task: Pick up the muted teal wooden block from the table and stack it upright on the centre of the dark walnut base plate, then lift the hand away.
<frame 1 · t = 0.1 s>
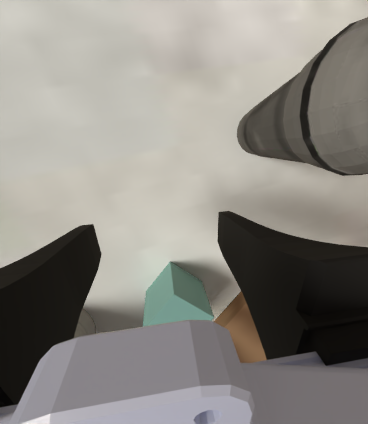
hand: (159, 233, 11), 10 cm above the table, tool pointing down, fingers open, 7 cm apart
beverage cup: (256, 132, 21), on the table
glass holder: (37, 335, 24), on the table
teal block: (174, 286, 25), on the table
walnut base: (260, 322, 28), on the table
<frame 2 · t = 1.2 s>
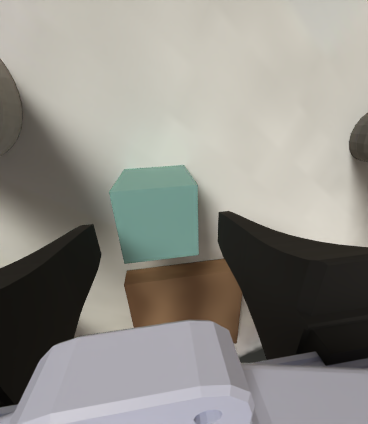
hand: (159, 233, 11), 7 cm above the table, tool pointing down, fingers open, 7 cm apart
teal block: (157, 195, 18), on the table
walnut base: (185, 303, 24), on the table
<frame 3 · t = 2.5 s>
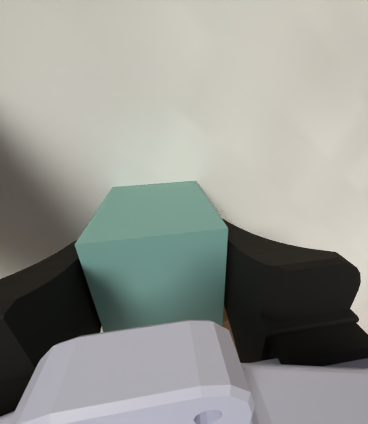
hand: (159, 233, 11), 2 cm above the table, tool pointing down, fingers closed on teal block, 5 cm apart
teal block: (159, 220, 13), on the table, touching gripper
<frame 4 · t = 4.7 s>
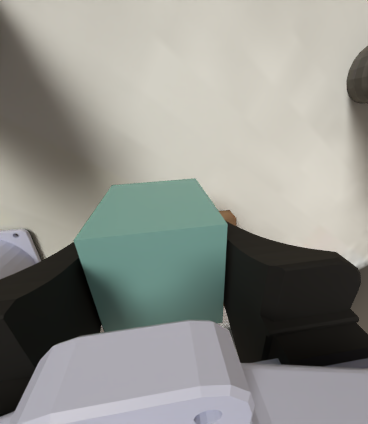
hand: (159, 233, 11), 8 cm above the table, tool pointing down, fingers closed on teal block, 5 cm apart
teal block: (158, 218, 13), point 7 cm above the table, touching gripper
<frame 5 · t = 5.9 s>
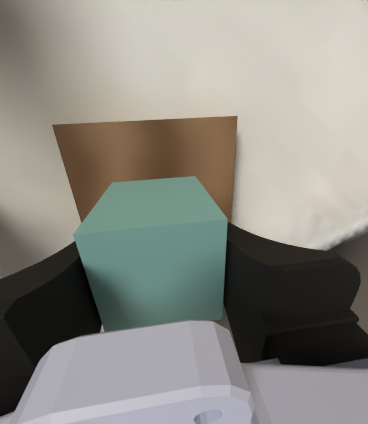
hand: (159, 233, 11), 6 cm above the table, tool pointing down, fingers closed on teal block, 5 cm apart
teal block: (158, 216, 13), point 5 cm above the table, touching gripper
walnut base: (158, 196, 17), on the table
when the fingers open (4 cm above the table, at t = 6.8 s): teal block stays where it is, resting on walnut base.
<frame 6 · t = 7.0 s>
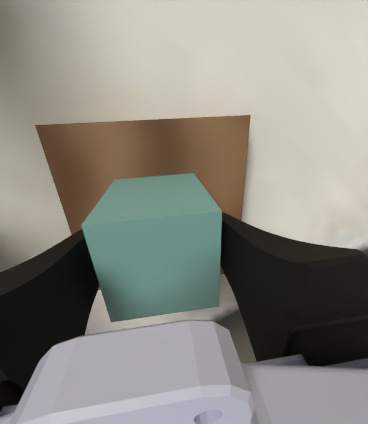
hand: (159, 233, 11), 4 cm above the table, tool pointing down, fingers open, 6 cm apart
teal block: (159, 211, 13), point 2 cm above the table, touching walnut base
walnut base: (158, 204, 15), on the table
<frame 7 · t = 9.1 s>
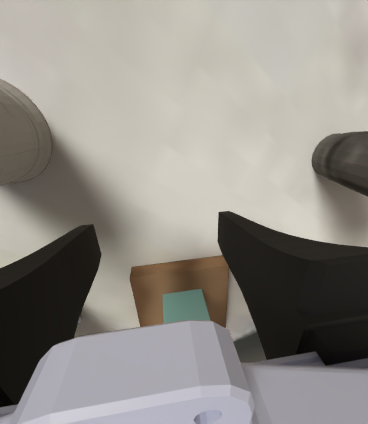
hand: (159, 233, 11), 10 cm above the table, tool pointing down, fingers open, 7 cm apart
beverage cup: (329, 154, 22), on the table
teal block: (183, 305, 26), point 2 cm above the table, touching walnut base
walnut base: (181, 294, 28), on the table
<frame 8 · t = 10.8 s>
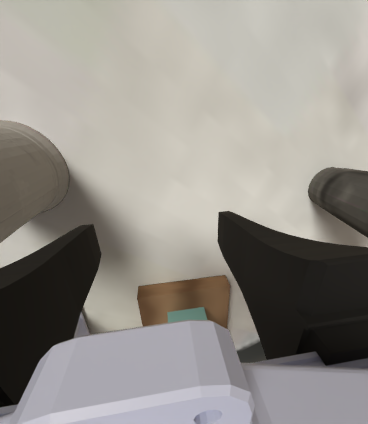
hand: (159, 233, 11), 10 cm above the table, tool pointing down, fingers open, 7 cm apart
beverage cup: (324, 185, 24), on the table
teal block: (186, 321, 27), point 2 cm above the table, touching walnut base
walnut base: (184, 310, 29), on the table
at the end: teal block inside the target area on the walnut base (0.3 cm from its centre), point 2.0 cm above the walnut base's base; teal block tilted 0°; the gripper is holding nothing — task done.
